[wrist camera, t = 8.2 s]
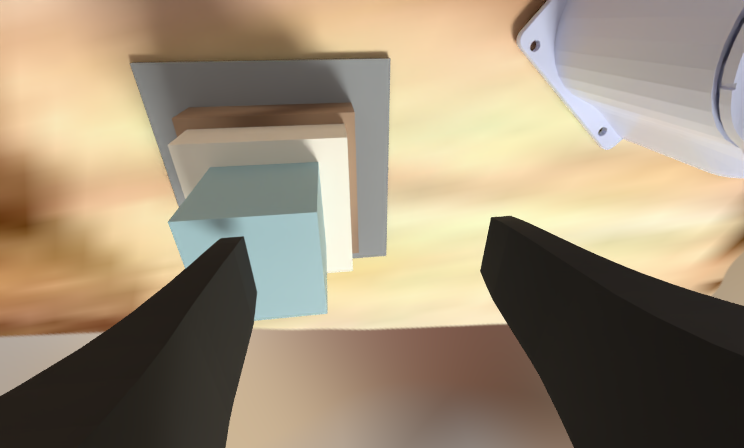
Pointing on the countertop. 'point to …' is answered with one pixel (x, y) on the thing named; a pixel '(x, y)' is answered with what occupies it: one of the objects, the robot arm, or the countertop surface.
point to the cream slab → (278, 147)
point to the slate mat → (277, 87)
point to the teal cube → (263, 231)
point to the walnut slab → (281, 117)
